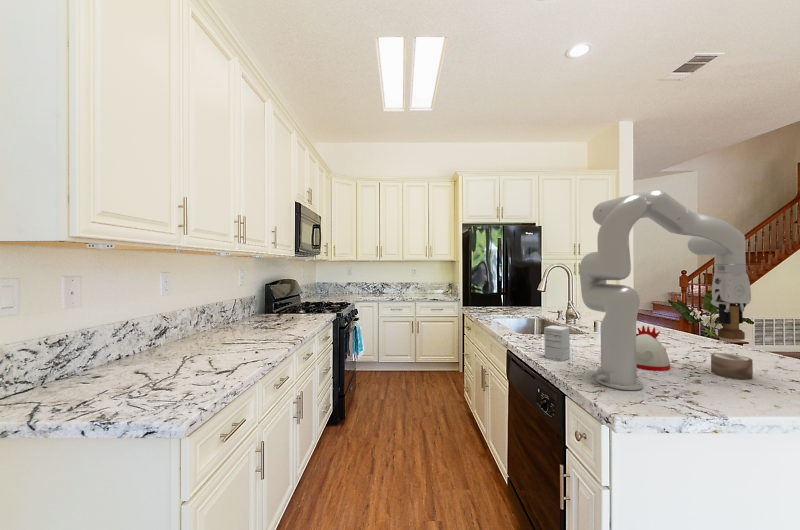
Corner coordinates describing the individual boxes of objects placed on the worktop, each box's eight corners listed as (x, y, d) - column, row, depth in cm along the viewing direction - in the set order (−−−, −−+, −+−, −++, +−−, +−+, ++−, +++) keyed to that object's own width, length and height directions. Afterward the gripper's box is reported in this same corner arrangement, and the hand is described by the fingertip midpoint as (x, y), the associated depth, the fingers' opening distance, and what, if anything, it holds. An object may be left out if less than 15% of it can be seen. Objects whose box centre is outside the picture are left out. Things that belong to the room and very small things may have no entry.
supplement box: (552, 354, 139) (551, 324, 140) (570, 358, 134) (570, 327, 134) (544, 357, 135) (543, 327, 135) (562, 361, 129) (562, 329, 129)
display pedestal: (735, 380, 106) (734, 361, 106) (703, 370, 116) (703, 353, 116) (761, 378, 108) (761, 360, 108) (727, 369, 118) (727, 352, 118)
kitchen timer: (666, 374, 114) (665, 330, 114) (619, 365, 124) (619, 325, 124) (673, 365, 123) (672, 325, 123) (629, 358, 133) (628, 321, 133)
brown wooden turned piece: (747, 340, 107) (745, 286, 107) (719, 338, 111) (718, 285, 111) (742, 337, 113) (741, 284, 113) (716, 335, 117) (715, 284, 117)
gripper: (720, 270, 107) (721, 325, 107) (764, 269, 109) (765, 324, 109) (697, 269, 115) (697, 322, 115) (738, 269, 117) (739, 320, 117)
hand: (730, 322), depth 112 cm, fingers closed on brown wooden turned piece, 3 cm apart
